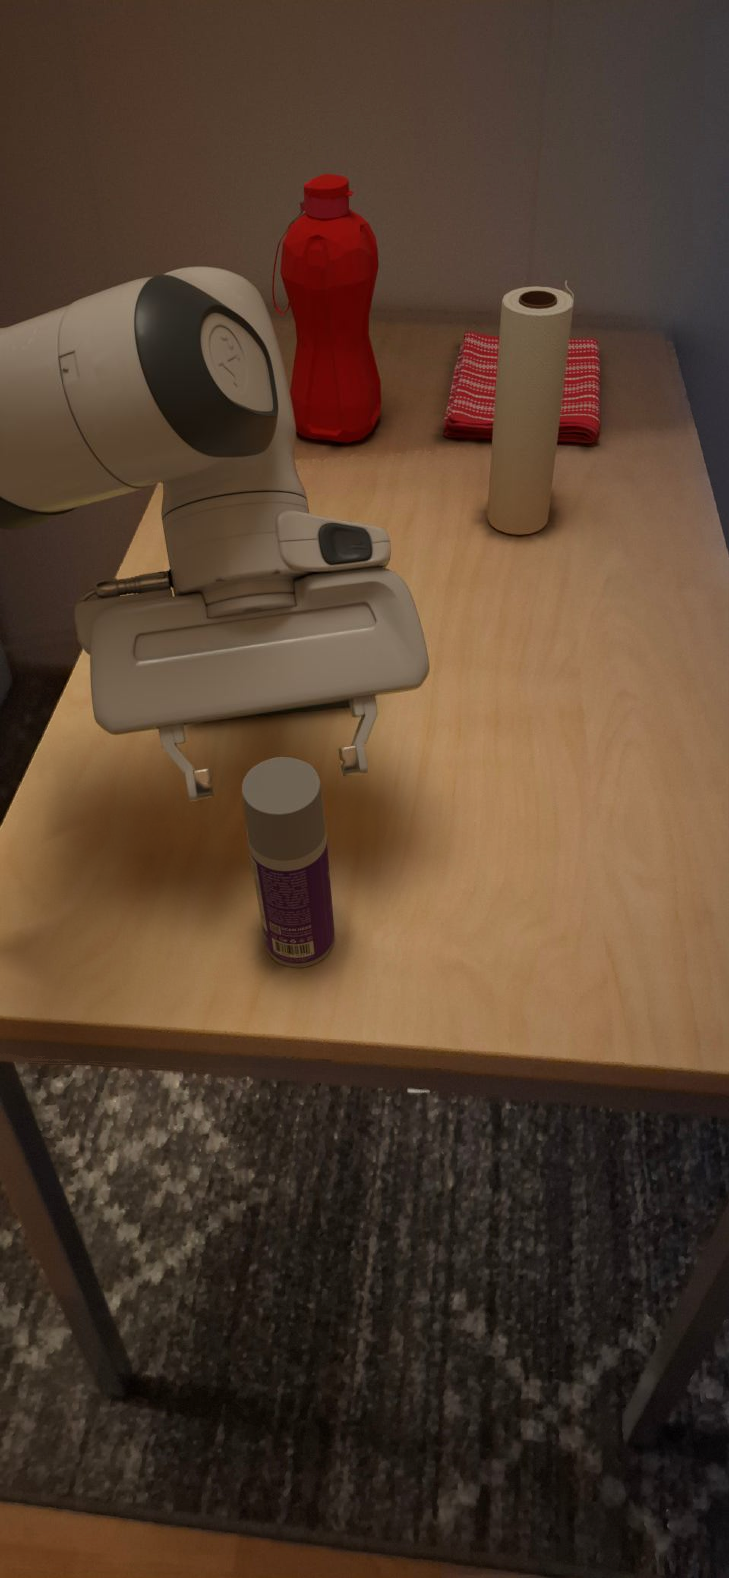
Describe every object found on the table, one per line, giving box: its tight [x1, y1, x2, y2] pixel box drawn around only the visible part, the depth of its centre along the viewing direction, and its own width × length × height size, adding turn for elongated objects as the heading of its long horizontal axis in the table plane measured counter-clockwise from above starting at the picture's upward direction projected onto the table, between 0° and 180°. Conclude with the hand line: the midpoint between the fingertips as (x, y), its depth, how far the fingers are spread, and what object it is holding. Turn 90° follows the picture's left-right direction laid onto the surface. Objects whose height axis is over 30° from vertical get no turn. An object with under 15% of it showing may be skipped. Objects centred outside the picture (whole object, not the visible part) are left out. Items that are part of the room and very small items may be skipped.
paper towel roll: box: [486, 279, 575, 536], centre depth 95 cm, size 7×6×21 cm
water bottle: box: [271, 173, 382, 444], centre depth 108 cm, size 9×11×25 cm
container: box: [241, 756, 336, 969], centre depth 64 cm, size 5×5×15 cm
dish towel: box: [442, 331, 601, 444], centre depth 120 cm, size 17×24×3 cm
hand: (279, 787), depth 63 cm, fingers open, 8 cm apart
